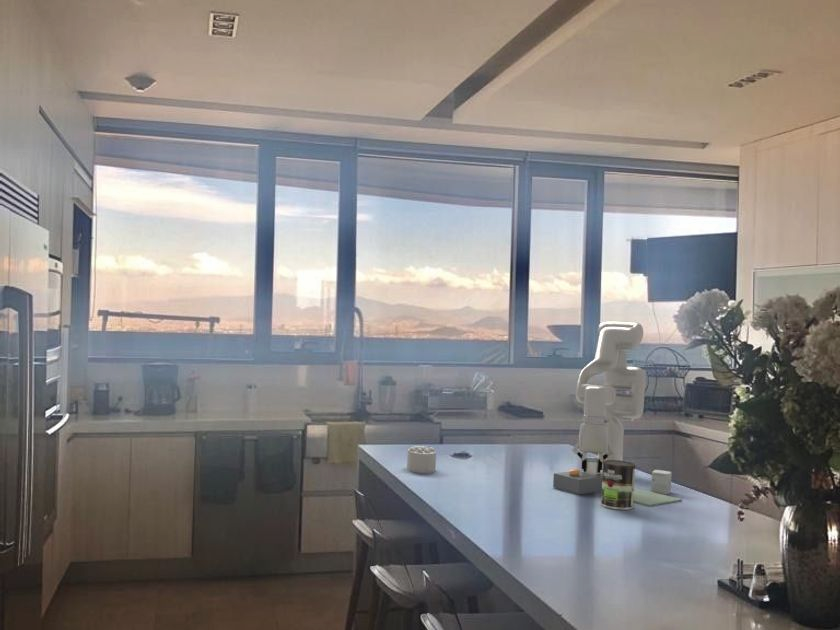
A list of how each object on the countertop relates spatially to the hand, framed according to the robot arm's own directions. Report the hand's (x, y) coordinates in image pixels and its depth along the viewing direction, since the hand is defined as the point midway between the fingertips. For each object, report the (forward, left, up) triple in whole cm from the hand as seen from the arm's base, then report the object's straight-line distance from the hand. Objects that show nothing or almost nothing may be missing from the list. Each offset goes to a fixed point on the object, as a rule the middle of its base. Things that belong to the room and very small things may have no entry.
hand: (591, 471), depth 296 cm
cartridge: (0, 0, -5) cm, 5 cm away
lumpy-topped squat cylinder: (+37, -51, -6) cm, 64 cm away
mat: (-4, +20, -6) cm, 21 cm away
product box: (-19, +16, -6) cm, 26 cm away
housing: (+4, 0, -6) cm, 7 cm away
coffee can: (+15, +24, -6) cm, 29 cm away
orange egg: (+9, 0, -5) cm, 11 cm away
